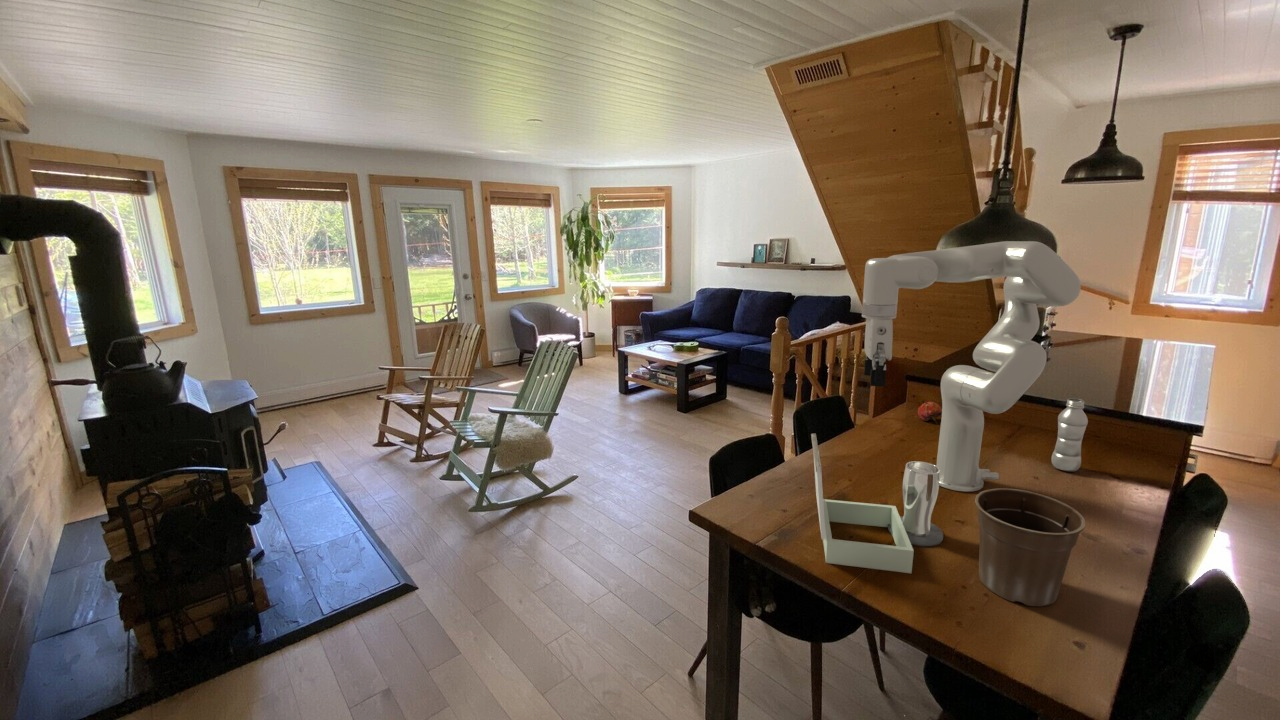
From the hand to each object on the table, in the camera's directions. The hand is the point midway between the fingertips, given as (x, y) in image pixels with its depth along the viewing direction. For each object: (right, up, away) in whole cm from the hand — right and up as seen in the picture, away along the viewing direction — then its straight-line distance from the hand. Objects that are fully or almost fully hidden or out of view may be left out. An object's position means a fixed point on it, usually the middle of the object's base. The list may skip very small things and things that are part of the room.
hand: (873, 380), depth 130 cm
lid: (-18, -22, -15) cm, 32 cm away
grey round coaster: (+4, -34, -11) cm, 36 cm away
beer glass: (+4, -33, -11) cm, 35 cm away
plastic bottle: (+61, -26, +17) cm, 68 cm away
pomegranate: (+45, -17, +57) cm, 74 cm away
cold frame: (-9, -35, -15) cm, 39 cm away
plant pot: (+14, -38, -30) cm, 50 cm away
